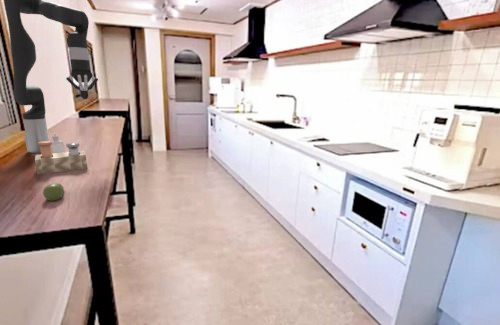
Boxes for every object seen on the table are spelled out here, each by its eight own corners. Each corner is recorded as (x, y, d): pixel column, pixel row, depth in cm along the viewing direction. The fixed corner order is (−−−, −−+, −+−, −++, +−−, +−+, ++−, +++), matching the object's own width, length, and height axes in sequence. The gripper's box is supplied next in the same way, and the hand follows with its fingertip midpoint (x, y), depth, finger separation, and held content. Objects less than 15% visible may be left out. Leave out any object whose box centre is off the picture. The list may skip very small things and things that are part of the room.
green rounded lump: (39, 187, 90) (47, 181, 99) (41, 203, 91) (49, 196, 100) (60, 184, 93) (65, 179, 102) (62, 200, 93) (67, 194, 102)
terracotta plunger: (41, 167, 119) (37, 144, 117) (41, 164, 123) (37, 141, 120) (55, 165, 122) (51, 143, 119) (55, 163, 126) (51, 140, 123)
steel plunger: (70, 168, 125) (66, 145, 122) (69, 165, 129) (66, 143, 126) (82, 166, 128) (79, 144, 125) (81, 163, 132) (78, 142, 129)
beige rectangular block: (37, 174, 117) (34, 160, 116) (38, 168, 125) (35, 155, 123) (87, 168, 127) (85, 154, 125) (85, 162, 134) (83, 150, 133)
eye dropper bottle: (64, 158, 141) (60, 134, 137) (50, 158, 139) (46, 134, 135) (66, 155, 145) (62, 132, 141) (53, 156, 143) (49, 132, 139)
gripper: (95, 60, 133) (99, 98, 138) (61, 58, 126) (67, 98, 131) (97, 59, 127) (102, 99, 132) (62, 57, 120) (68, 99, 125)
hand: (84, 99), depth 131 cm, fingers closed
